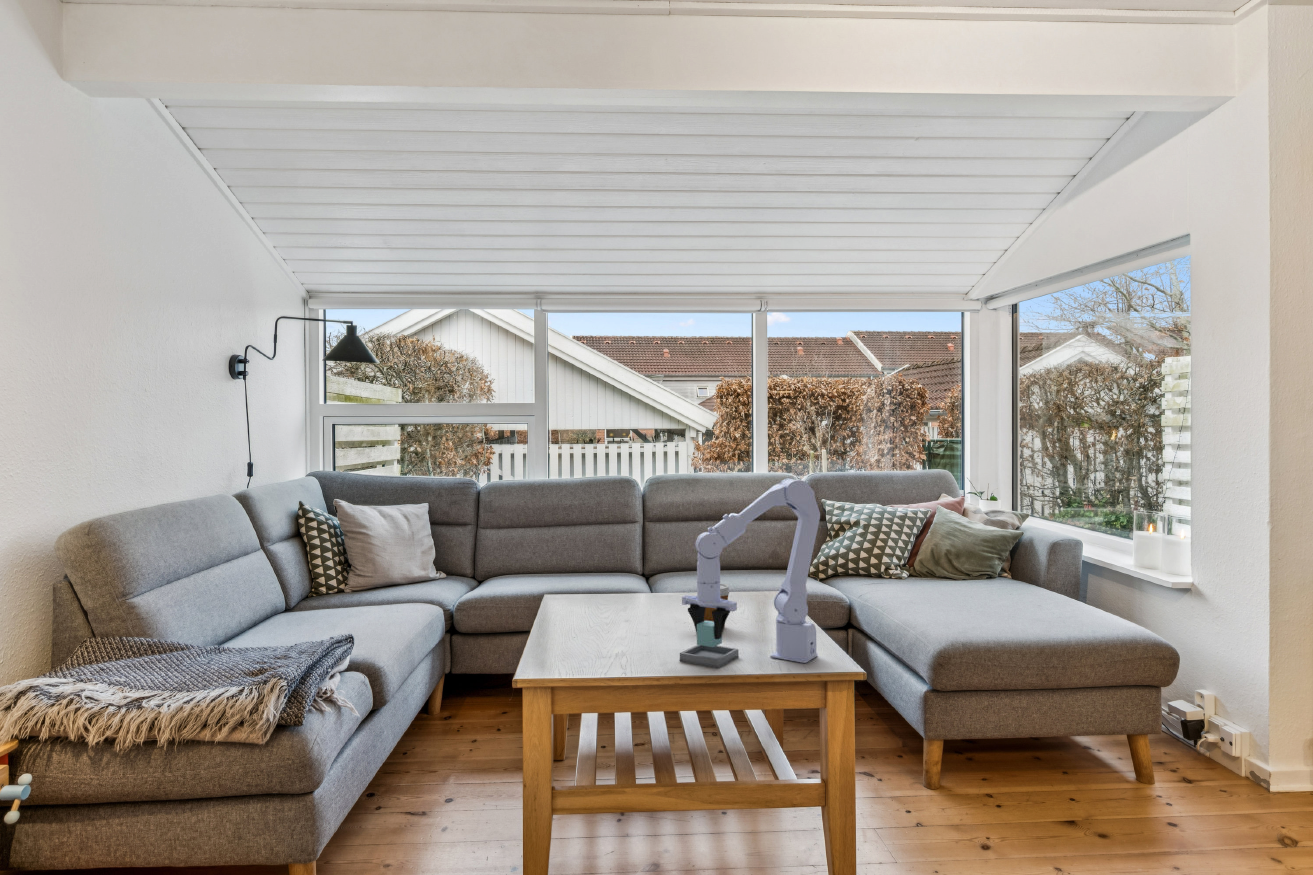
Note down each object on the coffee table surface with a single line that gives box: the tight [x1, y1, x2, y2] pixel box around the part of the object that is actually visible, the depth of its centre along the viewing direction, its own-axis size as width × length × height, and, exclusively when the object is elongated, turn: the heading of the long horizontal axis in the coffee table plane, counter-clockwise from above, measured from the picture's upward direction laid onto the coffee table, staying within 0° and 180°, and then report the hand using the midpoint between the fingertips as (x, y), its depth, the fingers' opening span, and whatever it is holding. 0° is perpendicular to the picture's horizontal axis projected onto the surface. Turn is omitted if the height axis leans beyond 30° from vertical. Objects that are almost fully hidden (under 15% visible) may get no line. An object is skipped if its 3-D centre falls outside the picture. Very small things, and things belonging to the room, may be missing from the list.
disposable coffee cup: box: [704, 583, 731, 630], centre depth 207 cm, size 10×10×12 cm
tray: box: [679, 644, 739, 669], centre depth 177 cm, size 11×11×2 cm
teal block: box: [696, 621, 723, 647], centre depth 177 cm, size 4×4×5 cm
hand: (709, 636), depth 177 cm, fingers closed on teal block, 4 cm apart
